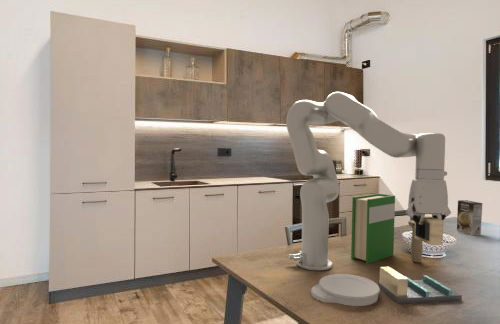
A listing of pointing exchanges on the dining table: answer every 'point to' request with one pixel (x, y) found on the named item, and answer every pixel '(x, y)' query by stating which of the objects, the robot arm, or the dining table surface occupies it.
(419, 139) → the robot arm
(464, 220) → the coffee box
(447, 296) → the rail
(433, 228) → the light wooden block
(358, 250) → the hardback book
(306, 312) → the dining table surface
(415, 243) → the handle
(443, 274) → the dining table surface
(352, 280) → the lid
